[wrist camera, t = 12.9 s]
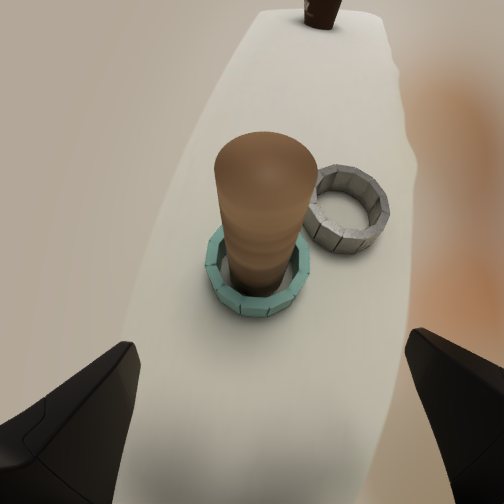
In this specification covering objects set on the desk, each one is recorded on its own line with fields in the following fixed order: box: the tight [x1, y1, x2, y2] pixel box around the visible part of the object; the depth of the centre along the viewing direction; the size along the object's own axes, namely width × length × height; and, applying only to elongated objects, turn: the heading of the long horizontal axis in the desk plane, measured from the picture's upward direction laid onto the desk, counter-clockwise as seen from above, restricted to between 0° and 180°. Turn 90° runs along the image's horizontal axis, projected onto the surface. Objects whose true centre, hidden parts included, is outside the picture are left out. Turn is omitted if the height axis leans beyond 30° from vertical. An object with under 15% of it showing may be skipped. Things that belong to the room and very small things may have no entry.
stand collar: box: [303, 164, 390, 254], centre depth 25 cm, size 8×8×3 cm
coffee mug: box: [304, 0, 342, 30], centre depth 43 cm, size 12×9×10 cm
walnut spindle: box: [214, 132, 318, 297], centre depth 18 cm, size 4×4×13 cm
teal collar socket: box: [205, 225, 310, 317], centre depth 22 cm, size 8×8×3 cm
